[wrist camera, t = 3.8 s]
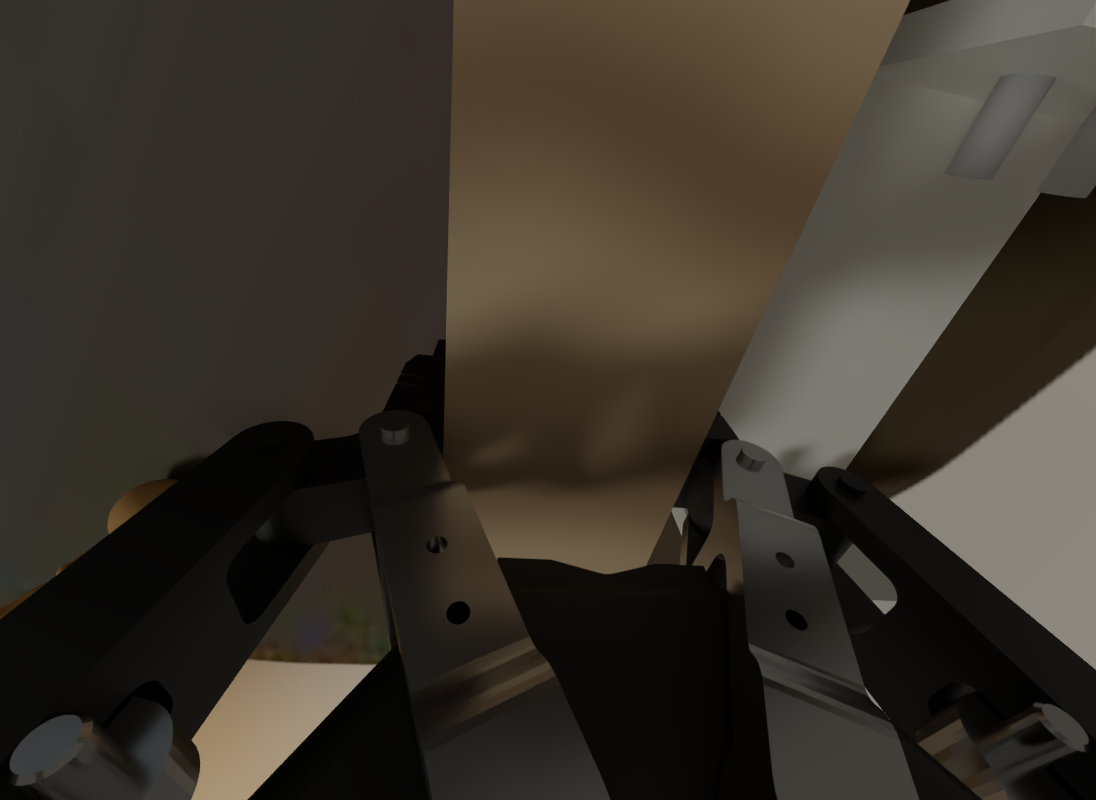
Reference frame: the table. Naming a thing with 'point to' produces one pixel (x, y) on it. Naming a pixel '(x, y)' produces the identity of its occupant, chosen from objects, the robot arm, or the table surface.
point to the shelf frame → (915, 223)
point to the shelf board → (624, 241)
